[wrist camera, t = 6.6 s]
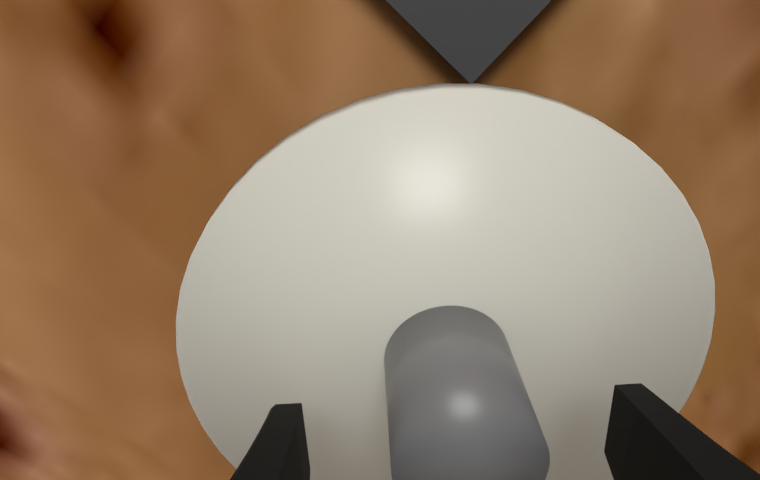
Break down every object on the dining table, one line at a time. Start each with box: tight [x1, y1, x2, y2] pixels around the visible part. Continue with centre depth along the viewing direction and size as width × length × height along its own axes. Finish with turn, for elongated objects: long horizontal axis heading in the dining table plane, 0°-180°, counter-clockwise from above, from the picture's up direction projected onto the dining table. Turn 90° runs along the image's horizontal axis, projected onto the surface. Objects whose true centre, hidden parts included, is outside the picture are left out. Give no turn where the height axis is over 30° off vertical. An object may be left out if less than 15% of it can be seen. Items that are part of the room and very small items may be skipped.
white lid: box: [176, 83, 715, 480], centre depth 14 cm, size 14×14×4 cm
